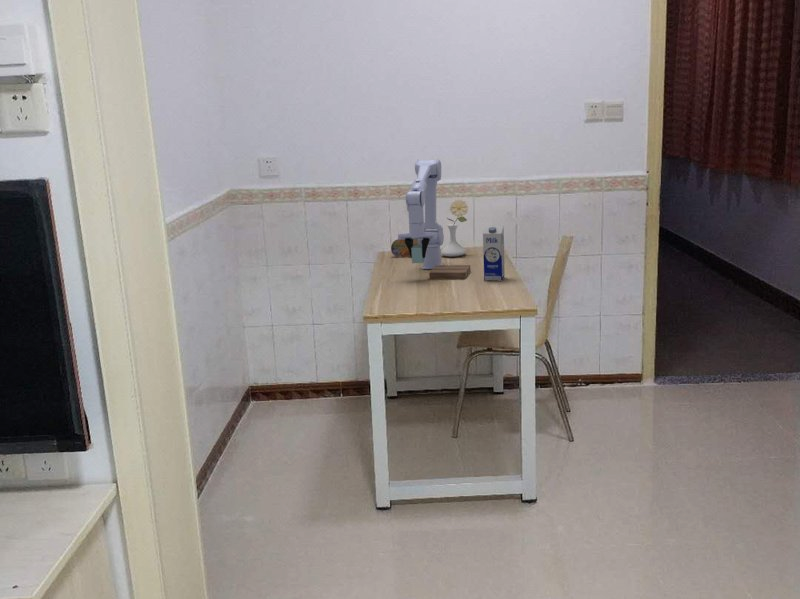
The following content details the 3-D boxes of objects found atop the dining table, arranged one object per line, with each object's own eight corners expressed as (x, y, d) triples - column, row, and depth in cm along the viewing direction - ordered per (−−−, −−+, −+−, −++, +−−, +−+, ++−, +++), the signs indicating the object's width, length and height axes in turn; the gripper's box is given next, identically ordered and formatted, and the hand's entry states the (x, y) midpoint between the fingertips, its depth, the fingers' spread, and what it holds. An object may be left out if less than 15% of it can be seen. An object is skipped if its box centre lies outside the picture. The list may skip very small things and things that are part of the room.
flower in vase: (437, 258, 346) (435, 201, 341) (444, 253, 357) (442, 197, 351) (467, 258, 343) (465, 200, 337) (472, 253, 353) (470, 197, 347)
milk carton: (505, 277, 303) (504, 225, 298) (502, 281, 296) (501, 228, 292) (486, 277, 305) (485, 225, 300) (483, 280, 298) (482, 228, 294)
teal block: (414, 261, 307) (413, 245, 306) (424, 261, 306) (423, 245, 305) (412, 263, 303) (411, 247, 302) (422, 263, 302) (421, 247, 301)
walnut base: (435, 271, 319) (435, 265, 319) (470, 271, 316) (470, 265, 316) (429, 279, 306) (429, 272, 305) (465, 279, 303) (465, 272, 302)
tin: (391, 257, 354) (390, 239, 352) (392, 256, 357) (391, 238, 355) (424, 257, 350) (423, 238, 348) (425, 256, 353) (424, 237, 351)
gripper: (395, 224, 299) (397, 259, 302) (433, 223, 296) (434, 259, 299) (399, 221, 306) (401, 256, 309) (436, 220, 302) (438, 255, 306)
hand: (418, 257), depth 304 cm, fingers closed on teal block, 4 cm apart
